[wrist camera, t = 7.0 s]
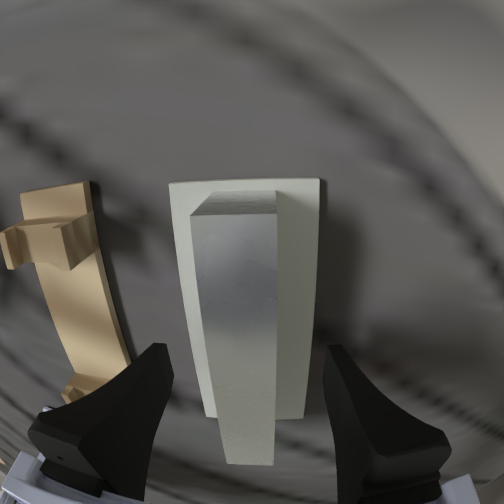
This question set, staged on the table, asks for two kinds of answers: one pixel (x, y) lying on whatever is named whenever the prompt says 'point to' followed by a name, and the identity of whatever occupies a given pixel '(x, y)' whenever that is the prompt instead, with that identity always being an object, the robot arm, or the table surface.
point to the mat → (288, 280)
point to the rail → (240, 316)
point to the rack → (70, 281)
